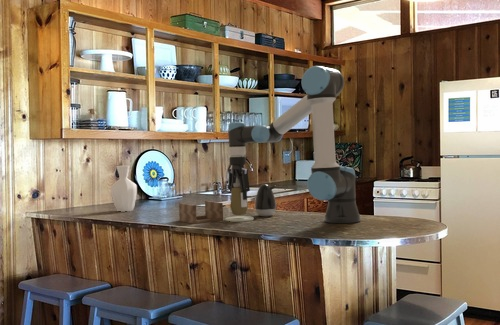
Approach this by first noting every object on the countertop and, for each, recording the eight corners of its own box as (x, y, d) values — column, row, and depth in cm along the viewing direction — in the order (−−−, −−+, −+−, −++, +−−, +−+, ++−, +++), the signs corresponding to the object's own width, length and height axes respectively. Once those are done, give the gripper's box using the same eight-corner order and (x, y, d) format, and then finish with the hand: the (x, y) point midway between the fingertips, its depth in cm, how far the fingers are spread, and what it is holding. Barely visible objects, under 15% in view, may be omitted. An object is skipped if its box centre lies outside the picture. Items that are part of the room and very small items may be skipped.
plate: (259, 219, 251) (259, 218, 251) (234, 222, 244) (234, 220, 244) (244, 217, 262) (244, 215, 262) (220, 219, 255) (220, 218, 255)
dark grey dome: (275, 217, 259) (274, 184, 259) (253, 217, 261) (252, 184, 261) (278, 214, 269) (277, 183, 269) (257, 214, 271) (256, 183, 271)
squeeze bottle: (235, 216, 247) (234, 175, 247) (227, 214, 255) (226, 175, 254) (251, 214, 251) (250, 174, 251) (243, 212, 258) (242, 174, 258)
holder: (223, 220, 252) (222, 202, 252) (193, 223, 245) (193, 205, 245) (208, 217, 265) (207, 200, 265) (179, 220, 258) (179, 203, 257)
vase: (143, 210, 308) (141, 165, 308) (124, 213, 296) (123, 166, 296) (124, 209, 316) (123, 165, 315) (105, 212, 304) (104, 166, 303)
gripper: (256, 155, 245) (258, 207, 246) (233, 156, 263) (234, 204, 264) (242, 156, 241) (243, 208, 242) (219, 156, 259) (221, 205, 260)
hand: (239, 206), depth 253 cm, fingers closed on squeeze bottle, 8 cm apart
